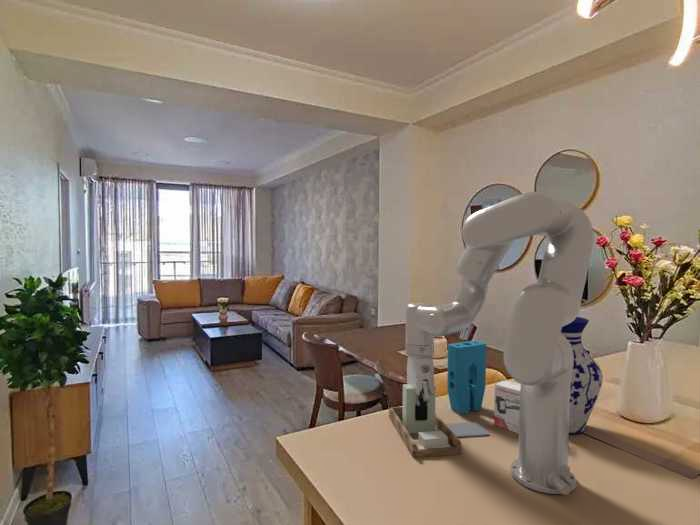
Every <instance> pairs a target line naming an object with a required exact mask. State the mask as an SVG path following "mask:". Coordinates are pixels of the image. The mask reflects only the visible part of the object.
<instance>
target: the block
mask: <svg viewBox="0 0 700 525" xmlns="http://www.w3.org/2000/svg"><path fill="white" fill-rule="evenodd" d="M486 368H487V343H486V342H483V341H479V340H469V341H461V342H456V343H455V342H453V343H448V344H447V373H446V374H447V379H446V381H447V382H446V383H447V384H446V385H447V388H446V389H447V394H448V399H449V404H450V409H451V410H452V411H453V412H456V413H457V414H459V415H465V414H469V413H470V412H471V410H472V411H474V412H478V411H480V410H482V406H483V400H484V396H485V390H486V377H487V376H486V375H487V374H486V373H487V371H486V370H487V369H486Z"/></svg>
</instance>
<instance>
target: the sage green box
mask: <svg viewBox="0 0 700 525" xmlns="http://www.w3.org/2000/svg"><path fill="white" fill-rule="evenodd" d="M428 390H429V389H428ZM420 393H423V392H420ZM422 397H423V396H420V399H421V398H422ZM429 398H430V401H428V408H427V420H422V421H416V420H415V405H417V402H416V394H415V393H414V390H413V388H412V387H411V385H410V384H405V383H403V384H402V407H403V411H402V418H401V419H402V420H401V422H402V423H403V425H404V426H405V428H406V430H407V431H408V433H409V434H410V435H411V434H418V432H429V431H436V427H435V413H436V386H435V385H434V394H433V395H431V394H430V393H429Z"/></svg>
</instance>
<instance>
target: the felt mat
mask: <svg viewBox="0 0 700 525" xmlns="http://www.w3.org/2000/svg"><path fill="white" fill-rule="evenodd" d="M445 424H446V425H447V427H448V428H449V429H450V430H451V431H452V432H453V433H454V434H455V436H456V437H457V438H458V439H459V438H469V437H470V438H472V437H487V436H488V437H489V436H490V435H491V434H490V433H489V432H488V430H486V429H485V428H484V427H483V426H481V425H480V424H479V423H478V422H476V421H473V422H472V421H471V422H457V423H454V422H453V423H452V422H451V423H445Z"/></svg>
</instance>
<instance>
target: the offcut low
mask: <svg viewBox="0 0 700 525" xmlns="http://www.w3.org/2000/svg"><path fill="white" fill-rule="evenodd" d="M413 440H414V442H415V443H416V449H427V448H424V447H423V446H422V445H421V443H420V442H419V441H418V439H413ZM442 447H451V446H450V444H449V443H448V446H440V447H429V448H442Z"/></svg>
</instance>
